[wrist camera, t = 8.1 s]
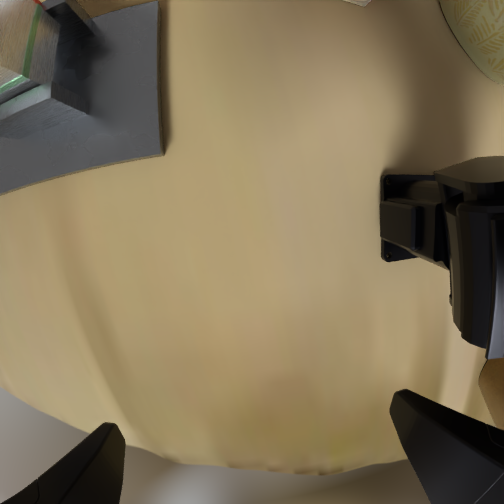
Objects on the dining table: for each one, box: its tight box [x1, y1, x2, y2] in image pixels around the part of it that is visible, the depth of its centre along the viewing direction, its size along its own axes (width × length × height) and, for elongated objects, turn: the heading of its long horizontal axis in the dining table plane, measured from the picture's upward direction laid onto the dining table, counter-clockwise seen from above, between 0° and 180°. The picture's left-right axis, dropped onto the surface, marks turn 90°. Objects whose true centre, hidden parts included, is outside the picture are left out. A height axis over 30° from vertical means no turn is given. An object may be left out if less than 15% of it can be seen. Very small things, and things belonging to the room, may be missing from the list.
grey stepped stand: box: [0, 0, 164, 196], centre depth 12 cm, size 16×12×7 cm
